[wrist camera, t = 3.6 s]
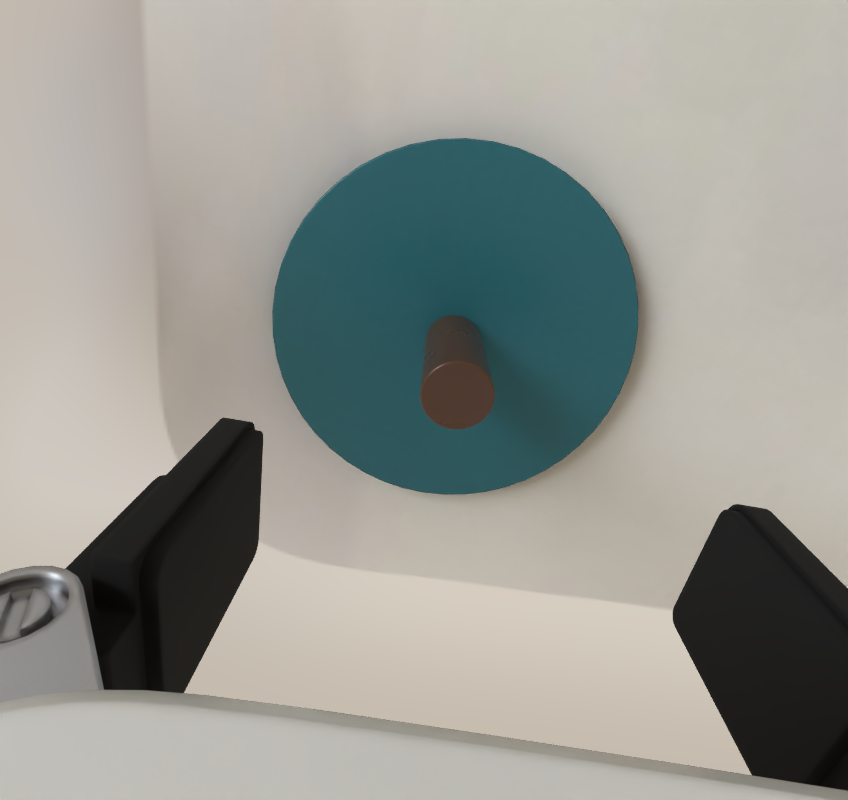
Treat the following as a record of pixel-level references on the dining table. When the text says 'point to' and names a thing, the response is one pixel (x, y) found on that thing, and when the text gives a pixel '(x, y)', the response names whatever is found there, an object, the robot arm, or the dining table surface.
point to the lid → (455, 316)
